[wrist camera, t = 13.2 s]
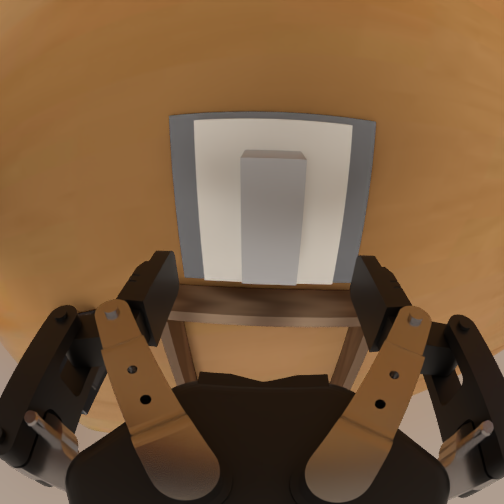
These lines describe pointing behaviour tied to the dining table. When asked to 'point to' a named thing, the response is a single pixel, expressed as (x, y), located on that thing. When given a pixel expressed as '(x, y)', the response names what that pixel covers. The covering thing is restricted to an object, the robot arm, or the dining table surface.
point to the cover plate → (228, 190)
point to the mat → (184, 123)
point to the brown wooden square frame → (263, 321)
